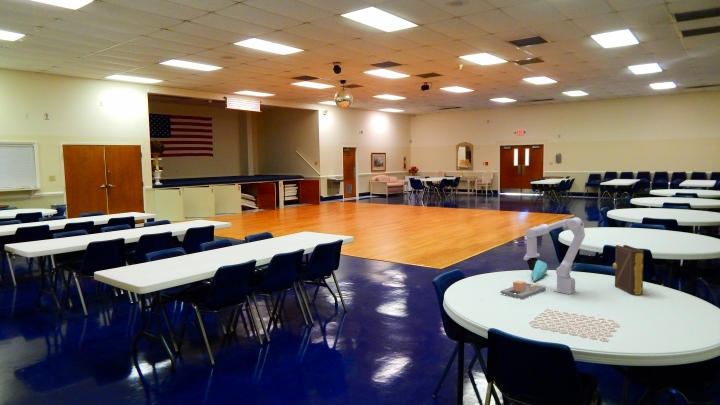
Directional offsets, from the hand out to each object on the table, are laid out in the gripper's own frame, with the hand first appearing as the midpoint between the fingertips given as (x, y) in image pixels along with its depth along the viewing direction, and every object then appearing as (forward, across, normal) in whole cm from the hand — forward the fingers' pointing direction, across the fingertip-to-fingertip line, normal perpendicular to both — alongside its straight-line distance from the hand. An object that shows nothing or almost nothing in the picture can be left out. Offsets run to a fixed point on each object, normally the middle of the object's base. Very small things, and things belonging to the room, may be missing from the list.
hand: (531, 270), depth 283 cm
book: (+11, -32, +42) cm, 54 cm away
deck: (+10, +14, +3) cm, 18 cm away
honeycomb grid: (+11, +44, +48) cm, 66 cm away
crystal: (+11, -24, -10) cm, 28 cm away
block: (+8, +18, +3) cm, 20 cm away
